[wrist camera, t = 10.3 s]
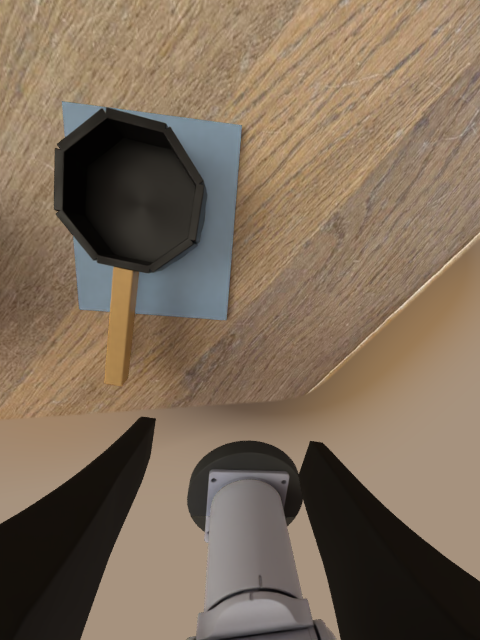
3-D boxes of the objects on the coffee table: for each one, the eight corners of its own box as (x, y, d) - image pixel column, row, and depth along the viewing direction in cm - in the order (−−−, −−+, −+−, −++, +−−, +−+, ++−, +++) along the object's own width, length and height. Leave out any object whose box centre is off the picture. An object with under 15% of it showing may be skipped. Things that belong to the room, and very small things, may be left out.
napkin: (226, 319, 19) (226, 320, 19) (81, 308, 18) (78, 309, 18) (241, 127, 16) (242, 124, 16) (64, 103, 15) (61, 100, 15)
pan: (88, 123, 15) (55, 92, 12) (215, 156, 16) (212, 135, 13) (77, 357, 19) (50, 376, 16) (179, 374, 20) (171, 394, 17)
